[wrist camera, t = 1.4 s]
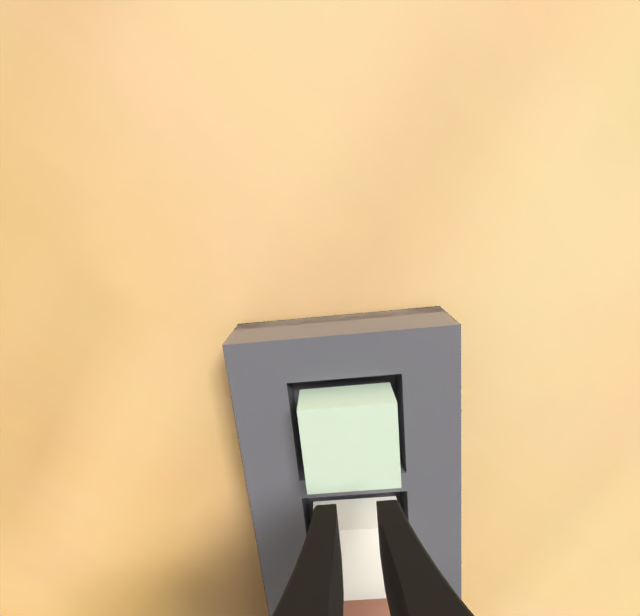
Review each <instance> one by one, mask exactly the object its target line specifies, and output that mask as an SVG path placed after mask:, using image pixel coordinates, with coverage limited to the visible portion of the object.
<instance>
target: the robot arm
mask: <svg viewBox="0 0 640 616" xmlns="http://www.w3.org/2000/svg"><path fill="white" fill-rule="evenodd" d="M376 506H377V520H378V534H379V548H380V558H381V566H382V573H383V580H384V587H385V593H386V598H387V602H388V607H389V611H390V615H391V616H474V615H473V614H472V613H471V611H470V610H469V609H468V608H467V606H466V605H465V604H464V603H463V601H462V600H461V599H460V598H459V596H458V595H457V594H456V592H455V591H454V590H453V588H452V587H451V586H450V584H449V583H448V582H447V580H446V579H445V578H444V576H443V575H442V573H441V572H440V571H439V569H438V568H437V566H436V565H435V563H434V562H433V560H432V559H431V557H430V556H429V554H428V553H427V551H426V550H425V548H424V547H423V545H422V543H421V542H420V540H419V539H418V537H417V535H416V534H415V532H414V530H413V528H412V527H411V525H410V523H409V521H408V519H407V517H406V516H405V514H404V511H403V509H402V507H401V505H400V503H399V502H398V501H397V500H384V501H376ZM343 606H344V589H343V571H342V555H341V545H340V535H339V526H338V516H337V506H336V504H326V505H317V506H316V507H315V508H314V509H313V515H312V519H311V523H310V526H309V529H308V533H307V536H306V539H305V542H304V544H303V547H302V550H301V552H300V555H299V557H298V560H297V563H296V565H295V568H294V570H293V572H292V575H291V577H290V579H289V581H288V583H287V586H286V588H285V590H284V592H283V595H282V597H281V599H280V601H279V603H278V605H277V607H276V609H275V611H274V613H273V615H272V616H343Z"/></svg>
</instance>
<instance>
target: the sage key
mask: <svg viewBox="0 0 640 616" xmlns="http://www.w3.org/2000/svg"><path fill="white" fill-rule="evenodd" d="M297 417H298V425H299V433H300V441H301V449H302V457H303V465H304V473H305V481H306V489H307V495H308V494H322V493H336V492H351V491H365V490H379V489H393V488H401V467H400V447H399V427H398V407H397V401H396V398H395V395H394V392H393V390H392V387H391V384H390V382H387V383H375V384H363V385H351V386H338V387H326V388H314V389H301V390H300V391H299V398H298V405H297Z"/></svg>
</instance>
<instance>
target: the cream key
mask: <svg viewBox="0 0 640 616" xmlns="http://www.w3.org/2000/svg"><path fill="white" fill-rule="evenodd" d="M384 500H397V498H396V496H388V497H374V498H359V499H345V500H331V501H316V502H313V509H314V508H315V507H316V506H317V505H326V504H336V506H337V516H338V526H339V535H340V545H341V555H342V571H343V589H344V601H348V600H365V599H382V598H386V593H385V587H384V580H383V573H382V566H381V558H380V548H379V534H378V520H377V506H376V501H384Z"/></svg>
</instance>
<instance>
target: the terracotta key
mask: <svg viewBox="0 0 640 616" xmlns="http://www.w3.org/2000/svg"><path fill="white" fill-rule="evenodd" d="M343 616H391V615H390V611H389V607H388V602H387V598H382V599H365V600H348V601H344V606H343Z"/></svg>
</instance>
